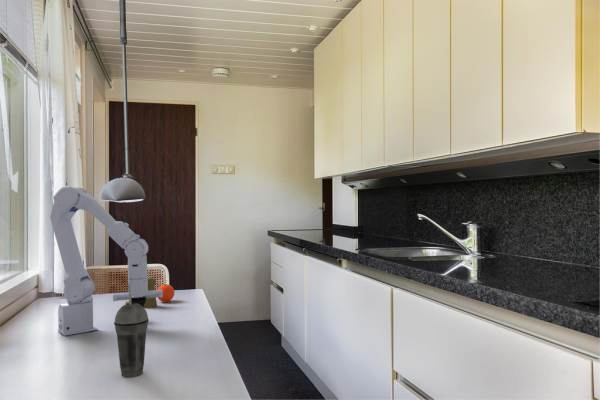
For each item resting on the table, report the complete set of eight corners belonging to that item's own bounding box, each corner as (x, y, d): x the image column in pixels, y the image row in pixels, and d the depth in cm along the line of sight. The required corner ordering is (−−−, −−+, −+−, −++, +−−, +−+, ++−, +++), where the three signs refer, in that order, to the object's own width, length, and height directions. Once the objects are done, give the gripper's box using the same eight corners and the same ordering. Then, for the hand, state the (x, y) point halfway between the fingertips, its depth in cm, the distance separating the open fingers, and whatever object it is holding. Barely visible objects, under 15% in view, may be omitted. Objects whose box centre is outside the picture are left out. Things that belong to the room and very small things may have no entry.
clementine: (156, 300, 192) (156, 282, 192) (174, 299, 194) (173, 281, 194) (156, 304, 184) (156, 285, 184) (175, 302, 186) (174, 284, 186)
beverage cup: (153, 367, 108) (152, 280, 109) (144, 379, 101) (142, 285, 101) (121, 368, 108) (120, 281, 108) (109, 380, 101) (108, 286, 101)
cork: (159, 305, 182) (159, 276, 182) (153, 308, 176) (152, 278, 176) (144, 305, 183) (144, 276, 183) (137, 308, 177) (137, 278, 177)
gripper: (111, 281, 140) (113, 327, 140) (162, 278, 145) (163, 322, 145) (113, 278, 147) (114, 322, 147) (161, 275, 152) (163, 317, 151)
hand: (139, 322), depth 146 cm, fingers closed
